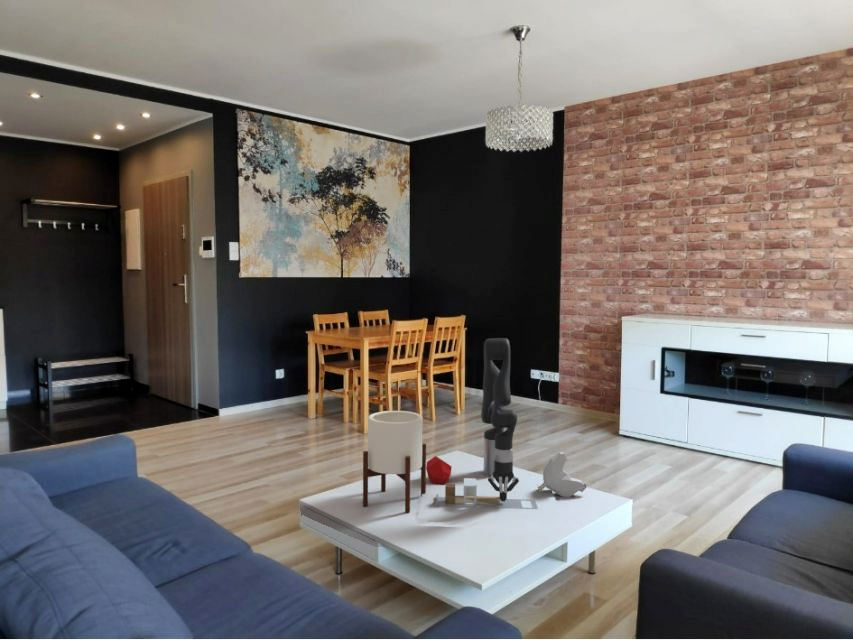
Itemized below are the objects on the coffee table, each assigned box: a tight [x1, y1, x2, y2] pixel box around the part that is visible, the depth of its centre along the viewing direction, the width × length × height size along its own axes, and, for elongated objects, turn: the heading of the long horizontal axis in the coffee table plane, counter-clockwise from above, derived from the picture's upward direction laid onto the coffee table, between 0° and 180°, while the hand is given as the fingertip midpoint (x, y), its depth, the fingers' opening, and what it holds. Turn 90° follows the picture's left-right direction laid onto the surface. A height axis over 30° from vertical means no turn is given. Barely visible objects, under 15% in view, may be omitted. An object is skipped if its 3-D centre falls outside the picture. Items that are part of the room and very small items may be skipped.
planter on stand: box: [362, 410, 427, 514], centre depth 248 cm, size 22×22×36 cm
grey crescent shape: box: [537, 451, 587, 497], centre depth 258 cm, size 7×19×20 cm
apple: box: [426, 455, 452, 486], centre depth 274 cm, size 12×12×15 cm
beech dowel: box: [455, 495, 500, 505], centre depth 244 cm, size 2×18×2 cm, turn 87°
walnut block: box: [444, 482, 456, 504], centre depth 244 cm, size 4×4×7 cm
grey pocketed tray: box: [434, 477, 539, 510], centre depth 244 cm, size 10×41×10 cm, turn 87°
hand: (502, 500), depth 243 cm, fingers closed
